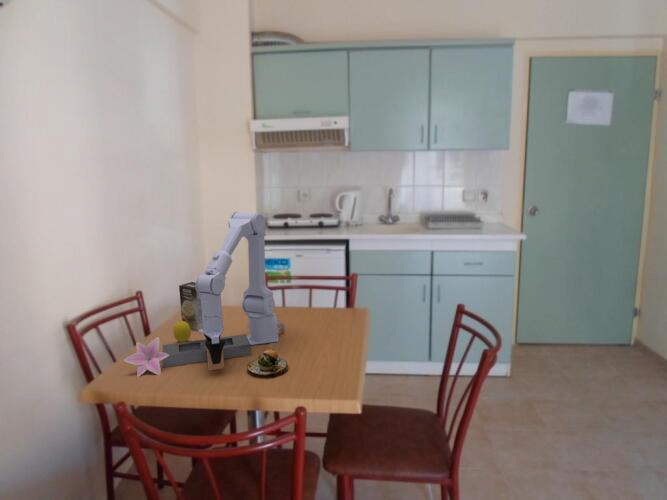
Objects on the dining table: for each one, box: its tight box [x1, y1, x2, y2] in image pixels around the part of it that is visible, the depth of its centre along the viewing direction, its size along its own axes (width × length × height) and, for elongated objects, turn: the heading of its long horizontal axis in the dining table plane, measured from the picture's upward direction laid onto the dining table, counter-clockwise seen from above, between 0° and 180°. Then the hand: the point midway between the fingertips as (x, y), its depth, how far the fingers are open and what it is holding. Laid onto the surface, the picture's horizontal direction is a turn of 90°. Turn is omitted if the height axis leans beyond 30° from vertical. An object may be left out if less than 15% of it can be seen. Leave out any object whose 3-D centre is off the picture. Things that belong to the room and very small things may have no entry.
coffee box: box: [178, 281, 203, 332], centre depth 181 cm, size 9×6×16 cm
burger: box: [246, 345, 289, 378], centre depth 142 cm, size 12×12×8 cm
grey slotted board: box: [161, 333, 252, 368], centre depth 154 cm, size 26×10×4 cm, turn 108°
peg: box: [207, 348, 225, 371], centre depth 145 cm, size 4×4×7 cm
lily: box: [123, 336, 169, 377], centre depth 144 cm, size 11×11×9 cm
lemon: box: [173, 319, 192, 343], centre depth 165 cm, size 6×6×8 cm
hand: (215, 358), depth 145 cm, fingers open, 7 cm apart
